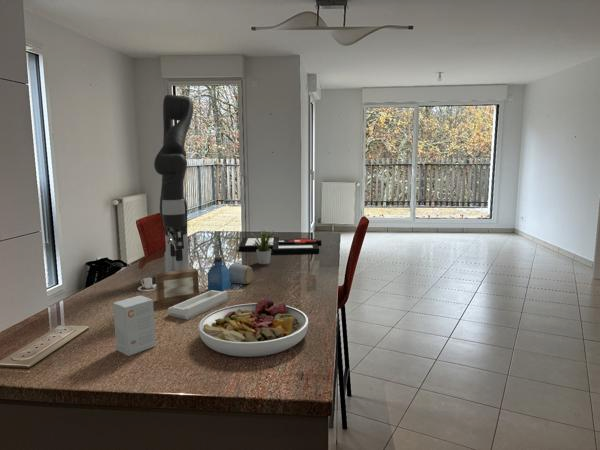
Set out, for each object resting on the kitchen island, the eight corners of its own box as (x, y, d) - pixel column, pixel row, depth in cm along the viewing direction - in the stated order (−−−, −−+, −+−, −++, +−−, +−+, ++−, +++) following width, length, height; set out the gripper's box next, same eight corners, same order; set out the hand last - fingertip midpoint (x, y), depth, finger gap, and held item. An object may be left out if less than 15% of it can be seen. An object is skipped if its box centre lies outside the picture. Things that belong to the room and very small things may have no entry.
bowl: (298, 366, 106) (298, 334, 105) (181, 358, 111) (179, 328, 110) (314, 320, 136) (314, 295, 134) (221, 316, 140) (220, 292, 139)
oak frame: (158, 304, 152) (157, 276, 151) (156, 300, 156) (155, 273, 154) (199, 298, 159) (198, 270, 157) (196, 294, 162) (195, 268, 161)
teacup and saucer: (165, 287, 173) (164, 277, 172) (149, 293, 166) (148, 282, 165) (149, 284, 177) (148, 275, 176) (133, 290, 170) (132, 279, 169)
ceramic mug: (246, 286, 172) (245, 267, 171) (227, 284, 174) (226, 265, 173) (257, 279, 182) (257, 261, 180) (239, 278, 184) (238, 260, 183)
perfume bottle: (230, 286, 172) (229, 256, 170) (222, 291, 166) (221, 260, 164) (216, 285, 174) (215, 255, 172) (208, 289, 168) (206, 259, 166)
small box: (143, 340, 122) (140, 294, 120) (156, 346, 118) (153, 299, 116) (115, 350, 116) (111, 302, 114) (128, 356, 112) (124, 307, 110)
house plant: (287, 263, 207) (286, 229, 205) (262, 268, 199) (261, 232, 197) (270, 258, 219) (269, 225, 216) (246, 262, 210) (245, 228, 208)
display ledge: (168, 315, 141) (167, 304, 140) (208, 297, 158) (208, 288, 158) (188, 319, 137) (187, 308, 137) (227, 300, 155) (227, 291, 154)
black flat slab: (237, 255, 227) (325, 254, 229) (237, 250, 226) (325, 248, 228) (243, 242, 262) (319, 241, 264) (243, 237, 262) (319, 236, 264)
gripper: (189, 213, 148) (192, 261, 150) (180, 209, 161) (182, 253, 163) (166, 215, 145) (169, 263, 147) (158, 211, 157) (161, 256, 159)
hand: (176, 258), depth 155 cm, fingers open, 8 cm apart
